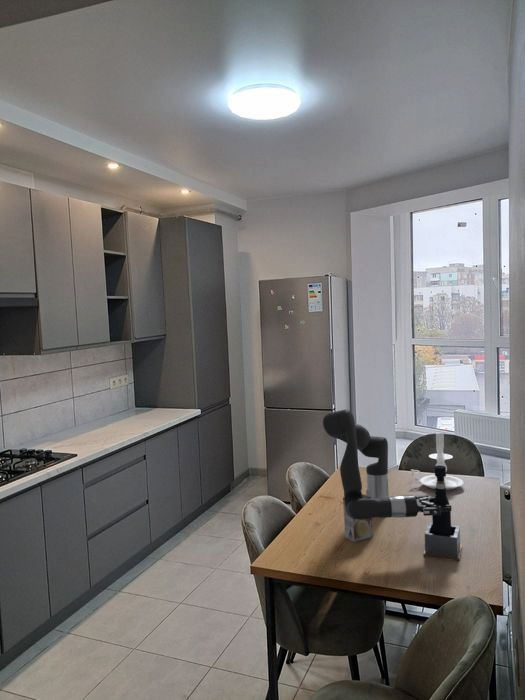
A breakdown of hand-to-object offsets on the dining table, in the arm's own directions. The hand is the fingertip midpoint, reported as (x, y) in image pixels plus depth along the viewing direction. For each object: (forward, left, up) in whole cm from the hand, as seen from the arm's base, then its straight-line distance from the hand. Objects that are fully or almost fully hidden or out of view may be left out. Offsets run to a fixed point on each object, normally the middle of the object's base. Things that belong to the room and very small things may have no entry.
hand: (446, 503), depth 193 cm
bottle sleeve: (-2, -1, -18) cm, 18 cm away
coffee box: (-34, +2, -18) cm, 38 cm away
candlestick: (-13, +72, -18) cm, 75 cm away
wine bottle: (-2, -1, -17) cm, 17 cm away
